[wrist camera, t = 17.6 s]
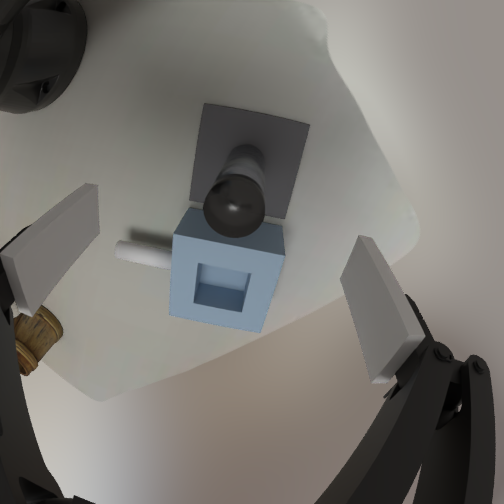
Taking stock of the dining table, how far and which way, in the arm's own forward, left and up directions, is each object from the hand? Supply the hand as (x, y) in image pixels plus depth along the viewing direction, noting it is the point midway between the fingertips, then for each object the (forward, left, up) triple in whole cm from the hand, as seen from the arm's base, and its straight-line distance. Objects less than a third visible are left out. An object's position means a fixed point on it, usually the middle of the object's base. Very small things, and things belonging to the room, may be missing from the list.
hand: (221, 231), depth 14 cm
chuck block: (+11, -3, -16) cm, 20 cm away
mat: (0, 0, -16) cm, 16 cm away
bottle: (0, 0, -16) cm, 16 cm away
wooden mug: (+31, -33, -16) cm, 48 cm away
